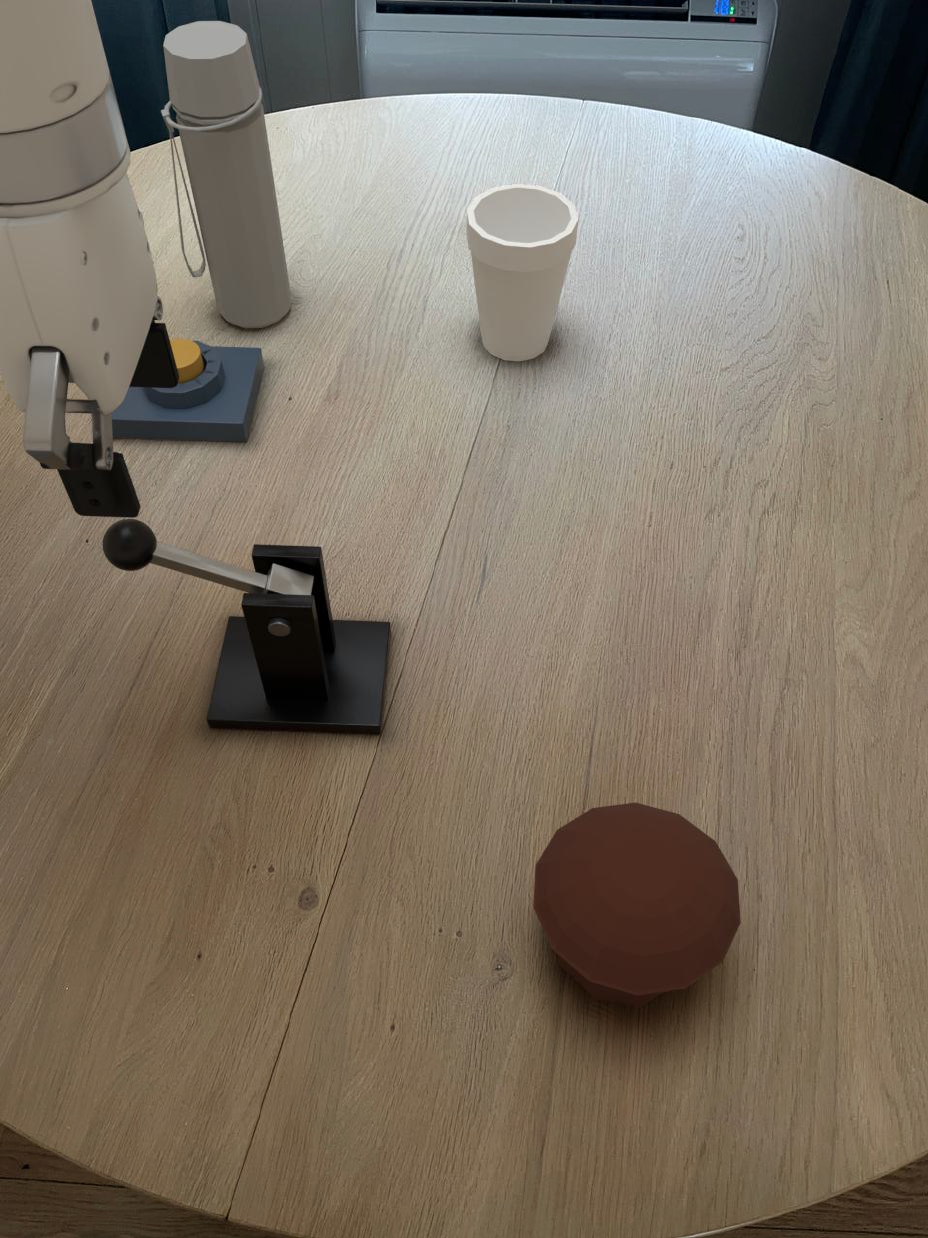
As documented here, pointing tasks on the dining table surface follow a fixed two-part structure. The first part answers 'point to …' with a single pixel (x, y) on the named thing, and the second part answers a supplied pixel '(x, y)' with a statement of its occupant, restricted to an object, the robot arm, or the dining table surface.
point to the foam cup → (519, 265)
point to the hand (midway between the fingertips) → (131, 444)
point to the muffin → (635, 902)
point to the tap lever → (194, 562)
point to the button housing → (197, 401)
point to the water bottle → (227, 170)
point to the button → (187, 359)
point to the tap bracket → (299, 659)
